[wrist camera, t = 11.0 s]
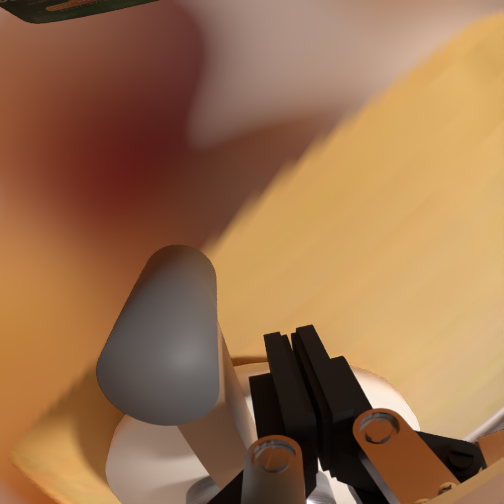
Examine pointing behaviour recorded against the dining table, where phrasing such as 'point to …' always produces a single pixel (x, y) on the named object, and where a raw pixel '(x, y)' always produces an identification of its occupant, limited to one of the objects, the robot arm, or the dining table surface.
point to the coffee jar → (63, 8)
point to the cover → (205, 489)
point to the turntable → (187, 387)
